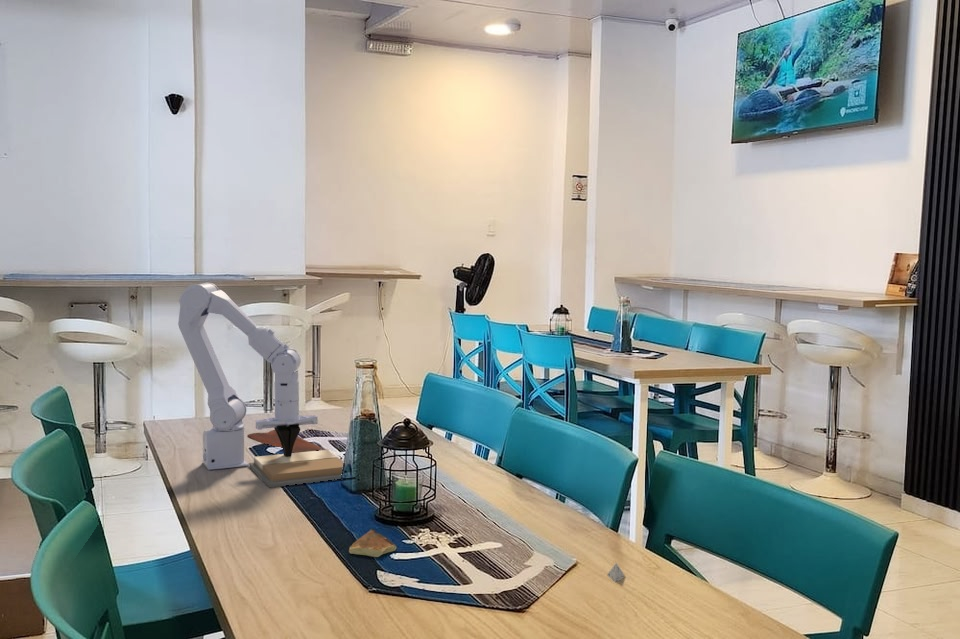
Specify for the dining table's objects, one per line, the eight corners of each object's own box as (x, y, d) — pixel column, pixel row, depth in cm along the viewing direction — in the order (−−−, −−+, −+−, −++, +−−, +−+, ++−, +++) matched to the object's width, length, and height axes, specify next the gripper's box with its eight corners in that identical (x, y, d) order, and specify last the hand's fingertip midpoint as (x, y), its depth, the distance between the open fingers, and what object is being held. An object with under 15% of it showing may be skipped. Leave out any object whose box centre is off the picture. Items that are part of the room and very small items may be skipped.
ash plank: (262, 471, 203) (262, 464, 203) (254, 463, 210) (254, 456, 210) (337, 463, 211) (337, 457, 211) (326, 455, 219) (326, 449, 218)
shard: (371, 536, 166) (371, 526, 166) (409, 540, 164) (409, 531, 164) (347, 555, 156) (347, 545, 156) (387, 561, 154) (387, 551, 153)
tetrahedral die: (613, 579, 150) (609, 561, 150) (626, 578, 148) (622, 560, 148) (601, 584, 147) (597, 566, 148) (614, 584, 145) (610, 565, 146)
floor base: (269, 487, 194) (269, 477, 193) (249, 466, 210) (249, 456, 210) (355, 477, 203) (355, 467, 203) (330, 458, 220) (330, 448, 219)
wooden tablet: (244, 438, 241) (244, 432, 241) (277, 433, 248) (277, 427, 248) (294, 458, 222) (294, 451, 221) (328, 451, 228) (328, 445, 228)
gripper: (260, 405, 204) (261, 463, 205) (321, 400, 210) (321, 456, 212) (253, 400, 210) (254, 456, 211) (312, 395, 216) (313, 449, 218)
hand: (287, 455), depth 212 cm, fingers closed, pressing on ash plank
